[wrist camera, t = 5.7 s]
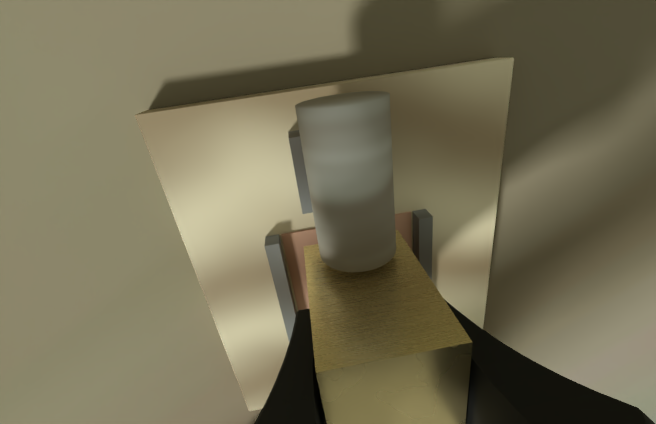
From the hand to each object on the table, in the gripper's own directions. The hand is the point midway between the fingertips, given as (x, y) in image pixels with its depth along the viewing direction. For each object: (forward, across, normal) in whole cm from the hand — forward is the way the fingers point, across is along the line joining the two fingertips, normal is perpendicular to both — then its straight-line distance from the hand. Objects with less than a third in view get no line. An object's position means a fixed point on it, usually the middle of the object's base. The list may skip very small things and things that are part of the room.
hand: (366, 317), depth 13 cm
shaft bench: (+4, 0, 0) cm, 4 cm away
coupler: (+2, 0, 0) cm, 2 cm away
